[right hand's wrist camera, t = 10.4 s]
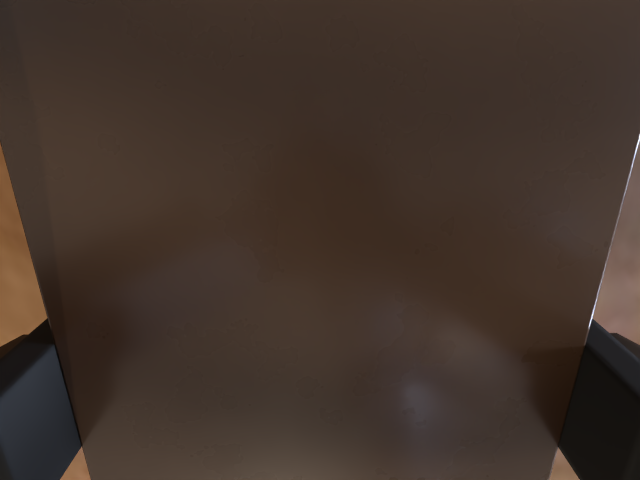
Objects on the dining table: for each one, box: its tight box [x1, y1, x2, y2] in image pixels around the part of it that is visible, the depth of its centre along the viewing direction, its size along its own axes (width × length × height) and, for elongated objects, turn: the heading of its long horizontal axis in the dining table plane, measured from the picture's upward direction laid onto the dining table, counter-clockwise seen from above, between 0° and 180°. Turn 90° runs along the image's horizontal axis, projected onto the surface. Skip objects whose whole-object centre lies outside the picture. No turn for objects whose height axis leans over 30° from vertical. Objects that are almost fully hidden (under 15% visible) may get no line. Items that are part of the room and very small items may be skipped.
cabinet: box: [0, 0, 640, 480], centre depth 10 cm, size 21×11×9 cm, turn 0°
